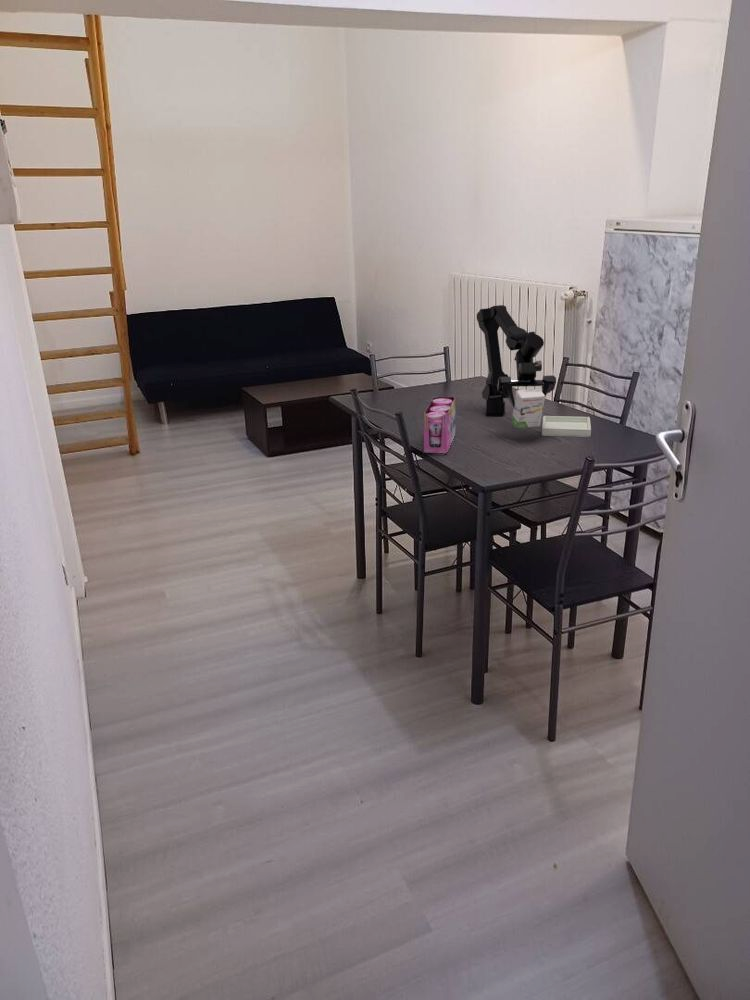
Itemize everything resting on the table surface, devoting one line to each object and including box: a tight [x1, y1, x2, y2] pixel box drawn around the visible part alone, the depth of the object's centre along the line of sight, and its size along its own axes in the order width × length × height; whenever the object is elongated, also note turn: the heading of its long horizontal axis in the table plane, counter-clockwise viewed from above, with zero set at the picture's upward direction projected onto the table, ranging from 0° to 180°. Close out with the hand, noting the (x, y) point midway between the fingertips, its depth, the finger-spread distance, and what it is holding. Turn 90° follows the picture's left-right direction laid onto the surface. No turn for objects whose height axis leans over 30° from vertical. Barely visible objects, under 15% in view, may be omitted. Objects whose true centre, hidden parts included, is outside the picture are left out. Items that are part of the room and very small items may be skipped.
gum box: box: [423, 396, 457, 454], centre depth 251 cm, size 24×8×14 cm, turn 168°
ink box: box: [511, 388, 546, 429], centre depth 249 cm, size 8×5×12 cm, turn 101°
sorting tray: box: [541, 415, 592, 438], centre depth 263 cm, size 16×16×2 cm
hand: (528, 406), depth 249 cm, fingers closed on ink box, 9 cm apart
